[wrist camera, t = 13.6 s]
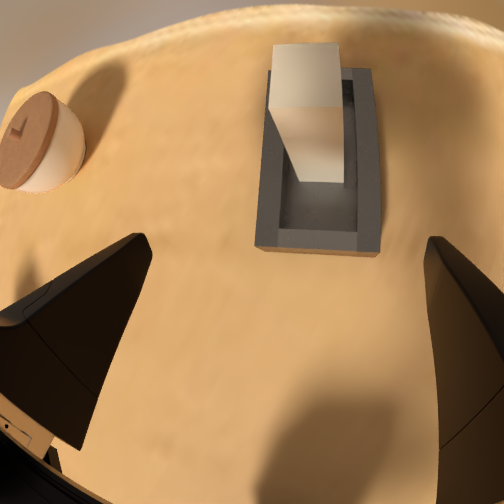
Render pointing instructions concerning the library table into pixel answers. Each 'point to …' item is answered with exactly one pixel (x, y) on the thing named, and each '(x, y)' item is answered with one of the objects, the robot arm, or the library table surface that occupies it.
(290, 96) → the pale grey rectangular block
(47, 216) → the library table surface
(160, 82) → the library table surface
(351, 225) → the grey rectangular tray
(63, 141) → the lidded jar
